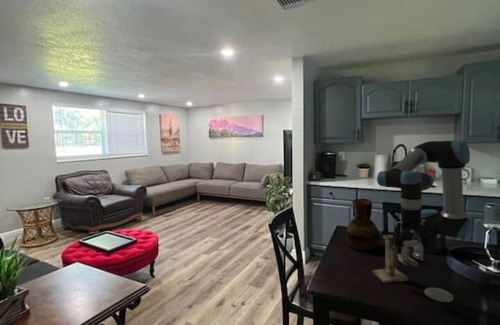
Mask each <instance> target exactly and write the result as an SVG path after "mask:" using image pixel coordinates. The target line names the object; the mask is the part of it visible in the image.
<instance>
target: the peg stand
mask: <svg viewBox="0 0 500 325" xmlns="http://www.w3.org/2000/svg"><path fill="white" fill-rule="evenodd" d="M382 237H383V239H384V240H385V241H384V243H385V244H384V246H385V249H384V252H385V253H384V254H385V255H384V256H385V257H384V258H385V259H384V261H385V262H384V265H385V266H384V268H381V269H372V273H373V274H374V275H375V276H376V277H377V278H378V279H379V280H381V281H382V282H383V283H384V284H386V283H394V282H395V283H396V282H405V281H410V279H409V278H410V277H408V276H406V274H404V273H403V272H401V271H400V270H399V269H397V268H396V266H394V267H393V266H392V265H391V264H389V249H392V248H396V246H395V245H394V244H392V239H393V234H385V235H382ZM396 257H398V254H396ZM405 261H407V262H408V263H410V266H413V267H419V262H418V261H416V260H415V259H413V258H412V257H411V256H410V257H409V260H405Z"/></svg>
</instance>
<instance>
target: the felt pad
mask: <svg viewBox="0 0 500 325" xmlns="http://www.w3.org/2000/svg"><path fill="white" fill-rule="evenodd" d="M424 294H425V296H427V297H428V298H430V299H431V300H434V301H437V302H442V303H450V302H453V301H454V295H453V294H452V293H451V292H449V291H448V290H445V289H442V288H440V287H439V288H438V287H427V288H425V289H424Z"/></svg>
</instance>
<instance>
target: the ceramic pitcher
mask: <svg viewBox="0 0 500 325" xmlns="http://www.w3.org/2000/svg"><path fill="white" fill-rule="evenodd" d="M351 203H352V204H353V205H354V206H355V208H356V216H355V217H354V218H352V219H351V220H350V222H349V223H348V224H347V227H346V230H345V240H346V243H348V245H349V246H350V247H352V248H354V249H356V250H361V251H369V250H374V249H376V248H377V247H379V246H380V243H381V235H380V232H379V231H380V230H378V227H377V226H376V224H375V222H374V221H372V220H371V216H372V208H373V203H372V200H370V199H368V198H356V199H353V200H352V201H351Z"/></svg>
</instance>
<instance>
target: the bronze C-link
mask: <svg viewBox="0 0 500 325" xmlns="http://www.w3.org/2000/svg"><path fill="white" fill-rule="evenodd" d="M396 254H398V253H397V247H395V248H392V249H389V264H391V265H392V266H393V267H394V266H395V267H398V266H399V263H398V262H397V255H396ZM407 256H409V257H410V258H411V249H409V247H407ZM400 262H401V261H400ZM401 264H403V265H404V266H411V264H410V263H408V262H407V261H405V260H404V262H401Z"/></svg>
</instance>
